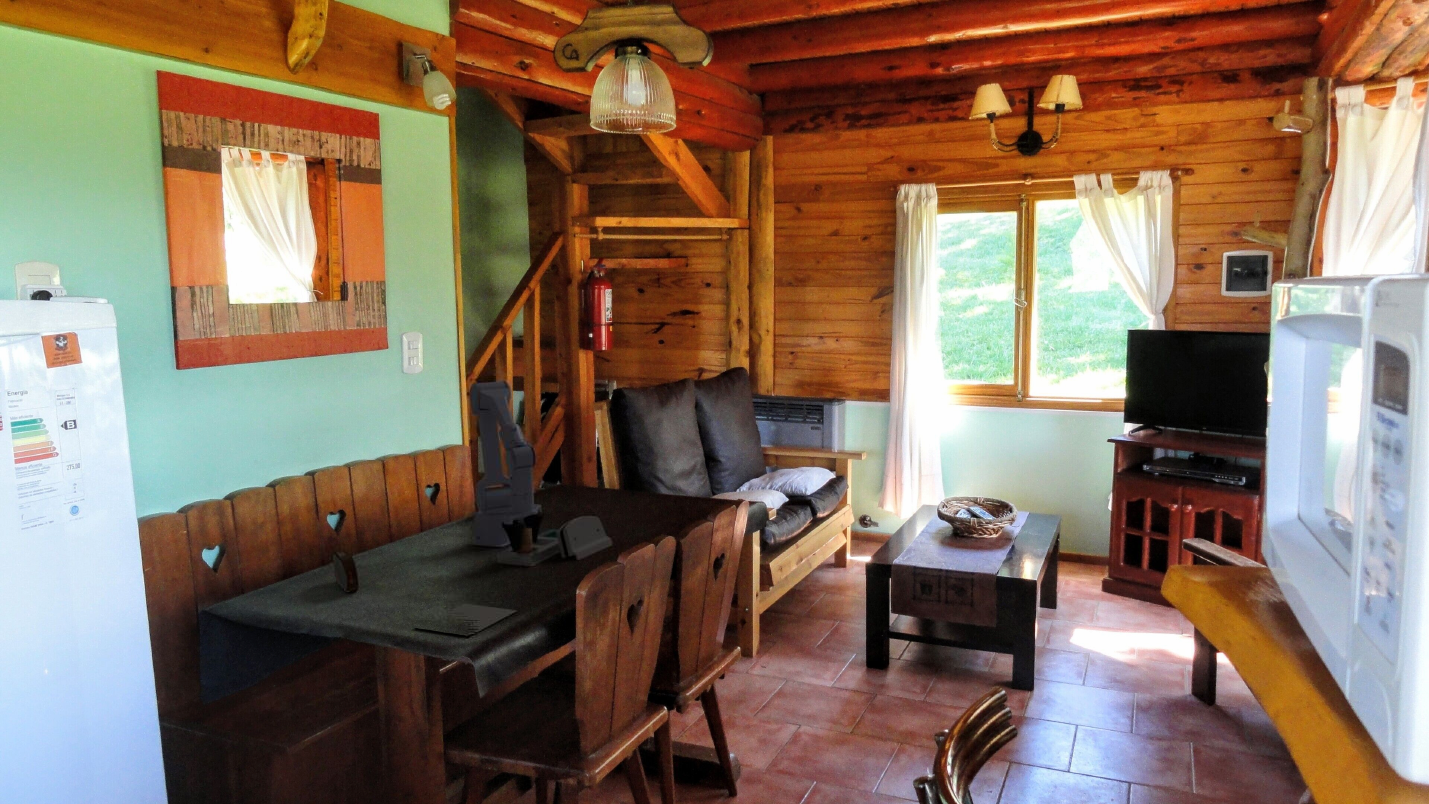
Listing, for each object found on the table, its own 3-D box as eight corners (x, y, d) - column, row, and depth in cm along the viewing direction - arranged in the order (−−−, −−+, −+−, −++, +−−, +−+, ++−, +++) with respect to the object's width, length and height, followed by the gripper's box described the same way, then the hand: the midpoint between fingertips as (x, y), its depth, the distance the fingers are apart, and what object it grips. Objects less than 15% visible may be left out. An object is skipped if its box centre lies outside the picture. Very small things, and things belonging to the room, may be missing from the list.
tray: (497, 563, 248) (496, 553, 247) (550, 537, 272) (550, 529, 271) (531, 566, 244) (531, 556, 244) (582, 540, 268) (582, 531, 268)
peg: (514, 561, 249) (512, 530, 248) (522, 556, 253) (521, 526, 252) (527, 562, 248) (526, 531, 247) (536, 558, 252) (534, 527, 251)
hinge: (577, 560, 249) (565, 522, 249) (563, 564, 251) (551, 527, 251) (613, 544, 264) (601, 508, 264) (600, 548, 266) (588, 513, 266)
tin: (360, 594, 225) (358, 558, 224) (346, 596, 223) (343, 560, 222) (346, 578, 237) (343, 544, 236) (332, 581, 236) (330, 546, 235)
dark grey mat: (376, 626, 204) (376, 622, 204) (454, 591, 226) (453, 588, 226) (468, 639, 194) (468, 636, 194) (539, 601, 217) (539, 598, 217)
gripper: (520, 500, 240) (522, 554, 242) (550, 488, 254) (552, 539, 255) (495, 498, 243) (498, 552, 244) (527, 487, 256) (529, 538, 258)
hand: (524, 545), depth 250 cm, fingers open, 7 cm apart
